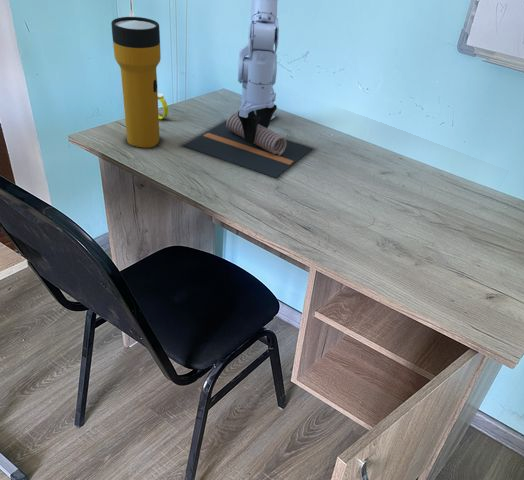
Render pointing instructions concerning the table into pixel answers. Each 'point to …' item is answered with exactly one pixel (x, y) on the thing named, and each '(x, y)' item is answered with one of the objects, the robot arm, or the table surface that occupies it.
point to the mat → (246, 151)
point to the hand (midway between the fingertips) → (255, 137)
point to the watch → (161, 98)
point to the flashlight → (138, 76)
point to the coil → (259, 135)
